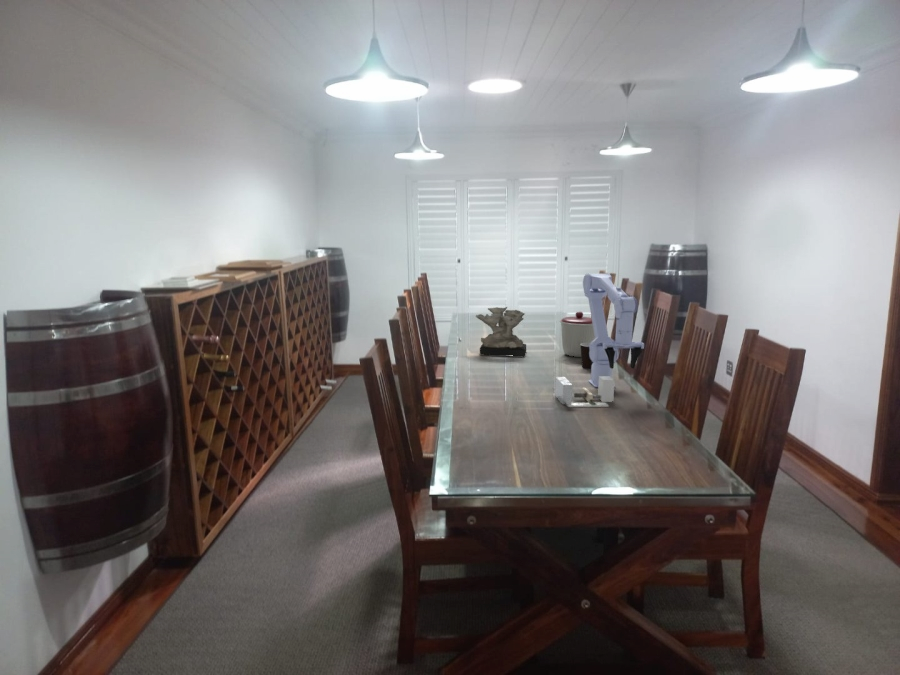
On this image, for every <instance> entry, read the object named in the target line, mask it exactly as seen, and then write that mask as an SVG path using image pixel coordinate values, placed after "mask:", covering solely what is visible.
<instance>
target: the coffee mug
mask: <svg viewBox="0 0 900 675" xmlns="http://www.w3.org/2000/svg"><path fill="white" fill-rule="evenodd" d="M580 345H581V357H580V360H581V368H583V369H587V370H591V366H592V364H593V362H592V360H591V359H590V356H589V351H590V348H589V345H590V343H582V344H580Z"/></svg>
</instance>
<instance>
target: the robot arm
mask: <svg viewBox="0 0 900 675" xmlns="http://www.w3.org/2000/svg"><path fill="white" fill-rule="evenodd" d="M612 277H613V276H612V275H611V274H610V273H609V272H607V273H588V272H587V273H586V274H585V275H584V276H583V279H582V288H583V292H584V296H585V297H586V298H587V299H588V305H589V311H590V315H591V317H590V318H592V323H593V329H594V335H595V339H594V340H593V341H592V342H591V343H590V345H589V348H590V351H589V356H590V359H591V360H592V362H593V364H592V366H591V369H590V370H591V371H590V379H588V380H587V381H588V383H590V384H591V385H592V386H593V387H594V388H598V385H599V376H610V377H612V378H613V371H614V370H613V369H614V367H615V363H616V362H617V360H618V359H619V352H620V351H619V349H630V364H629V365H630V369H635V366H636V365H637V361H638V360H639V357H640V356H641V354H642V352H643V349H645V343H644V342H641V341H633V328H634V314H635V313H636V312H637V310H638V300H637V298H636V297H635V296H629V295H628V294H627V293H626V292H625V291H624V290H623V289H622V287H621V286H615V284H614V283H613V278H612ZM605 297H607V298H608V300H609V301H610V302H611V303H612V304H613V308H614V315H615V316H614V317H615V318H616V319H615V320H616V323H615V324H616V325H615V339H613V338H611V337H610V336H609V332H608V327H607V321H606V315H605V311H604V306H603V298H605ZM614 388H616V385H615V384H614Z"/></svg>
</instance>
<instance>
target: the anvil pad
mask: <svg viewBox="0 0 900 675" xmlns="http://www.w3.org/2000/svg"><path fill="white" fill-rule="evenodd" d="M573 396H574V397H573V398H581V399H582V398H583V399H584V400H585V401H587V403H589V402H592V403H593V404H594V405H596V403H597V402H595V401H594V399H593V393H592V392H591V391H590V390H589V389H588V388H586V387H582V390H581V392H574V393H573Z"/></svg>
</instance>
